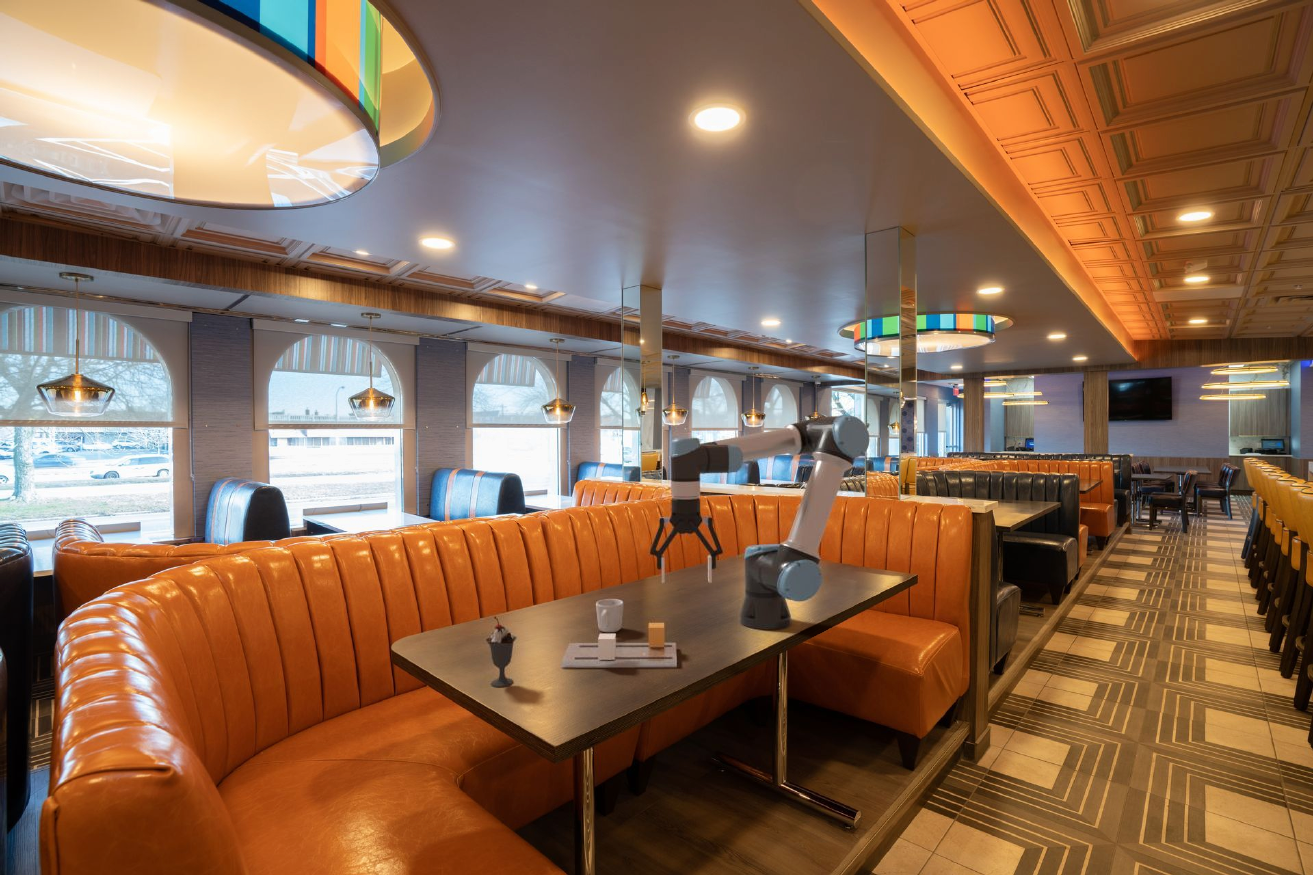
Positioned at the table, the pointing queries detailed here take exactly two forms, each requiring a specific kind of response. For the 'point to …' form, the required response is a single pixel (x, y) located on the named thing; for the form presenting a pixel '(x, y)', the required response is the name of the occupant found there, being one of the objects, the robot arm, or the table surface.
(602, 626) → the cup
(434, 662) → the table surface
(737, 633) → the table surface
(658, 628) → the fader
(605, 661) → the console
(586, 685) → the table surface
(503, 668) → the sundae
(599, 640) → the block
